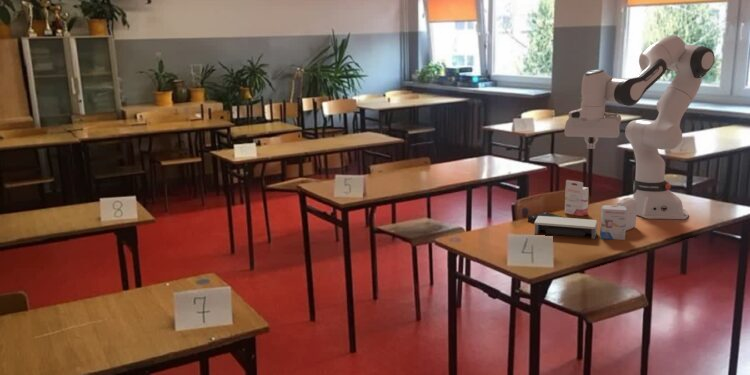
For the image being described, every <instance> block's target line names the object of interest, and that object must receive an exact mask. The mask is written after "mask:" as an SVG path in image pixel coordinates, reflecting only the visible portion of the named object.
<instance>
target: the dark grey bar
mask: <svg viewBox="0 0 750 375" xmlns="http://www.w3.org/2000/svg"><path fill="white" fill-rule="evenodd" d="M544 232H545V234H547V235H555V236H566V237H580V238H583V237H585V236H586V234H587V233H586V232H585V230H584V229H575V228H563V227H550V226H548V227H546V228H545V230H544Z"/></svg>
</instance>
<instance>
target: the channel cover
mask: <svg viewBox="0 0 750 375" xmlns="http://www.w3.org/2000/svg"><path fill="white" fill-rule="evenodd" d="M562 217H563V216H562ZM562 217H548V216H538V217H537V219H536V220H535V222H534V224H533V225H535V224H536V225H549V226H562V227H575V228H588V229H595V227H596V224H597V225H598V219H586V218H575V217H574V218H573V217H566V218H562Z"/></svg>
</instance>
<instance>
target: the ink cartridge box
mask: <svg viewBox="0 0 750 375" xmlns="http://www.w3.org/2000/svg"><path fill="white" fill-rule="evenodd" d="M564 196H565V197H564V214H567V215H568V214H569V215H573V216H577V217H584V216H587V215H588V214H589V187H588V186H587V187H586V186H584V182H583V181H577V180H571V179H566V180H565V188H564Z"/></svg>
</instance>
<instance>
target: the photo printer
mask: <svg viewBox="0 0 750 375" xmlns="http://www.w3.org/2000/svg"><path fill="white" fill-rule="evenodd" d="M615 206H625V207H626V209H627V217H626V231H629V230H632V229H634V228H635V227H636V226H637V225H636V224H637V215H636V211H637V201H636V200H635V199H634V198H633V197H624V198H622V199H621V200H619V201H618V202H617V203H616V205H615ZM626 231H625V232H626Z"/></svg>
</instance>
